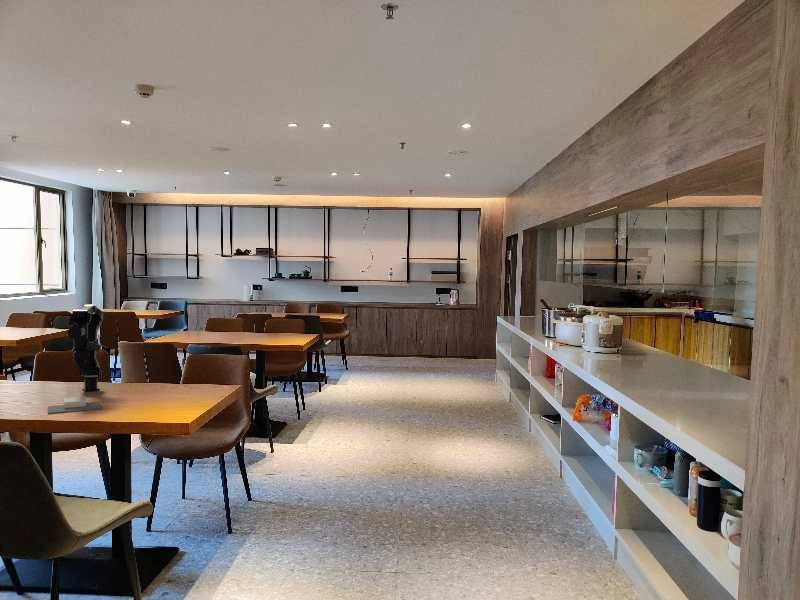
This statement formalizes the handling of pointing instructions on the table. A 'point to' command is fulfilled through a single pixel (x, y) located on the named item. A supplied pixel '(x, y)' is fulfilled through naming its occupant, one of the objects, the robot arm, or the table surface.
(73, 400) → the glazed tile
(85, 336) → the robot arm
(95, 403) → the mat
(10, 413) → the table surface
